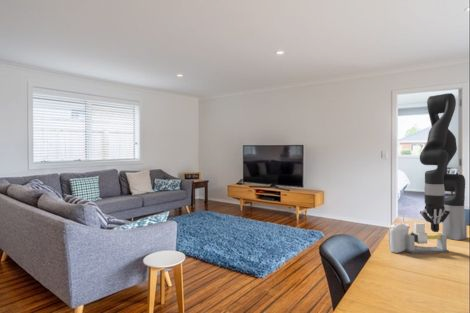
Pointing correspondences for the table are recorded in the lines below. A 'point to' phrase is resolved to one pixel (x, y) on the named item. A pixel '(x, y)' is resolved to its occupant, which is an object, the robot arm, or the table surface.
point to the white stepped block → (420, 233)
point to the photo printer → (397, 237)
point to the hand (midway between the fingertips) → (435, 231)
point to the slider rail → (419, 250)
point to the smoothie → (406, 225)
